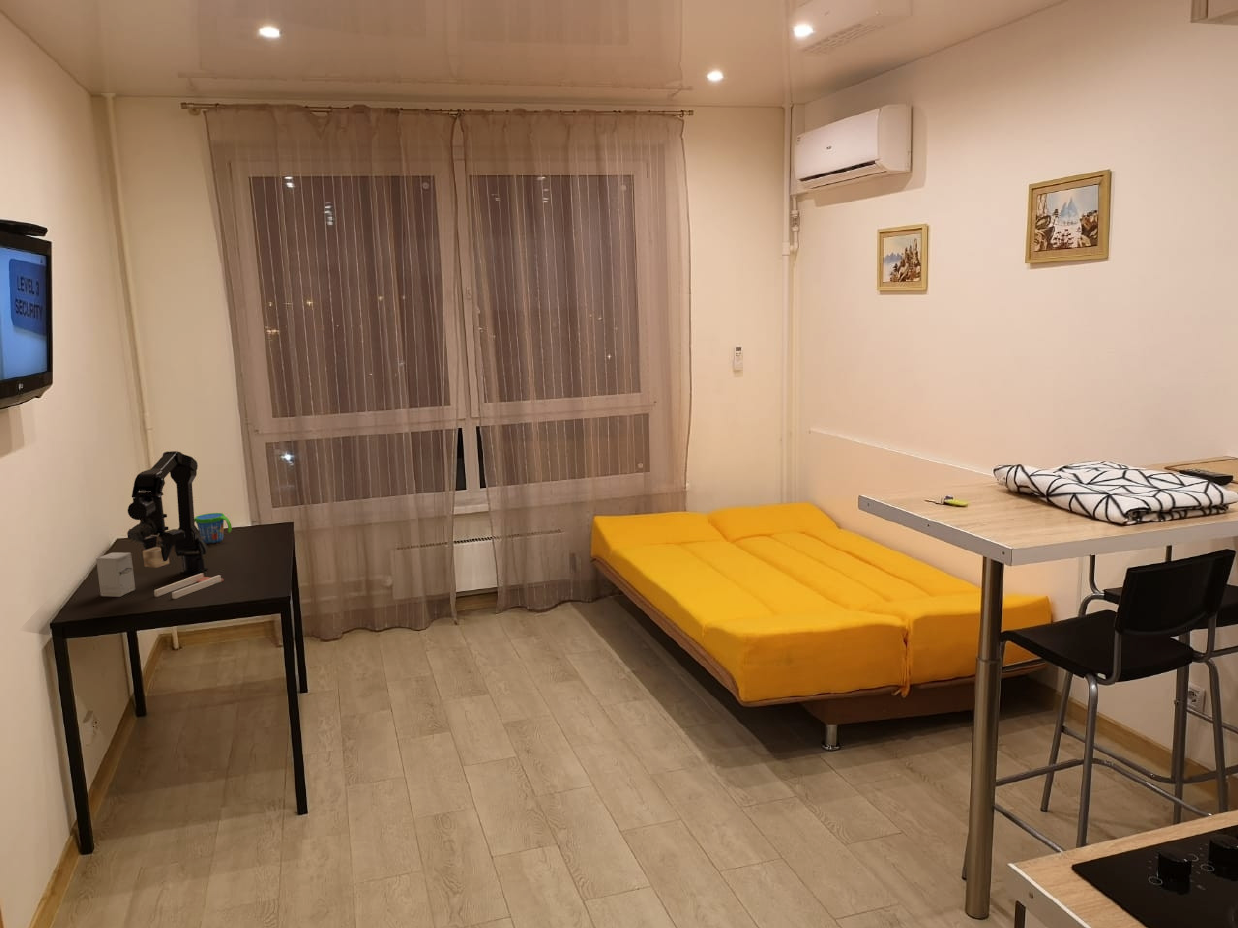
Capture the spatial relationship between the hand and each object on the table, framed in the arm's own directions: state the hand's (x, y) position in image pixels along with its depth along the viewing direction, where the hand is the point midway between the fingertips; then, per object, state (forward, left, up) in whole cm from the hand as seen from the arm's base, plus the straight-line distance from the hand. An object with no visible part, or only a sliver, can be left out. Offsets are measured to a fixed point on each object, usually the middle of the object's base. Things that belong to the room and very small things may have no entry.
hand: (159, 560), depth 300 cm
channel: (+4, +7, -11) cm, 14 cm away
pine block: (0, -1, -1) cm, 2 cm away
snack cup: (-36, +56, -11) cm, 67 cm away
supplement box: (-15, -4, -11) cm, 19 cm away
